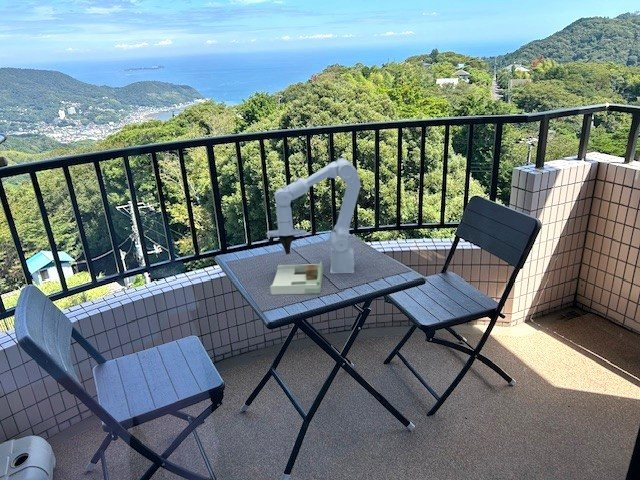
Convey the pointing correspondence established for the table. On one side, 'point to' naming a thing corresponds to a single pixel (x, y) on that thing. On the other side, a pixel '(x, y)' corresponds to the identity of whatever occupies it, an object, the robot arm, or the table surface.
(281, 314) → the table surface
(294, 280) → the board
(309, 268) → the walnut block
